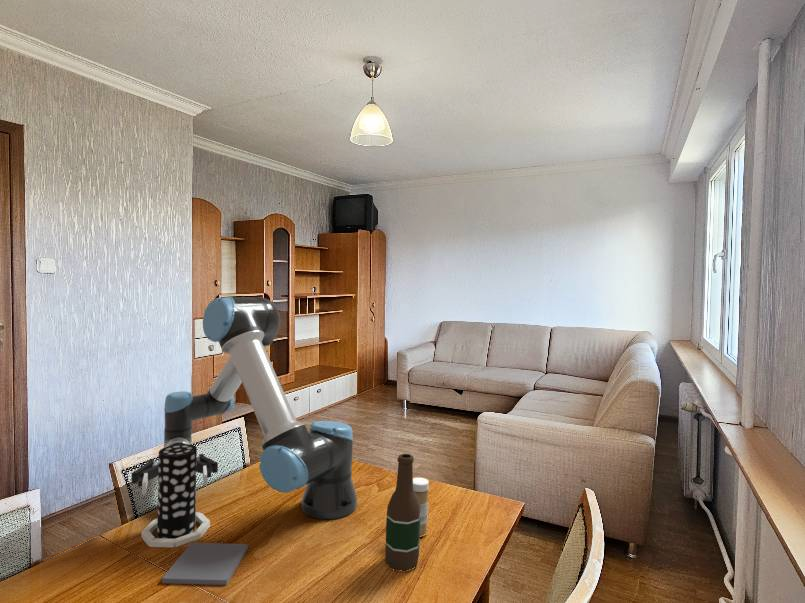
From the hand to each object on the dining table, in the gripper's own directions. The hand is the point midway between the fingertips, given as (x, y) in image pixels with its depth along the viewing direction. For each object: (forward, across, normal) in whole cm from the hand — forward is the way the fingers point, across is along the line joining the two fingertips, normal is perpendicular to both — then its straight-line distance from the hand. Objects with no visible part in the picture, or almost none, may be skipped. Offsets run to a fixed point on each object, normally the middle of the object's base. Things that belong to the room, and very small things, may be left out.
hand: (175, 484), depth 113 cm
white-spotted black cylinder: (+2, 0, -11) cm, 11 cm away
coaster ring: (+2, 0, -11) cm, 11 cm away
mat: (+19, -7, -11) cm, 23 cm away
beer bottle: (+34, -46, -11) cm, 58 cm away
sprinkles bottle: (+24, -55, -11) cm, 61 cm away
